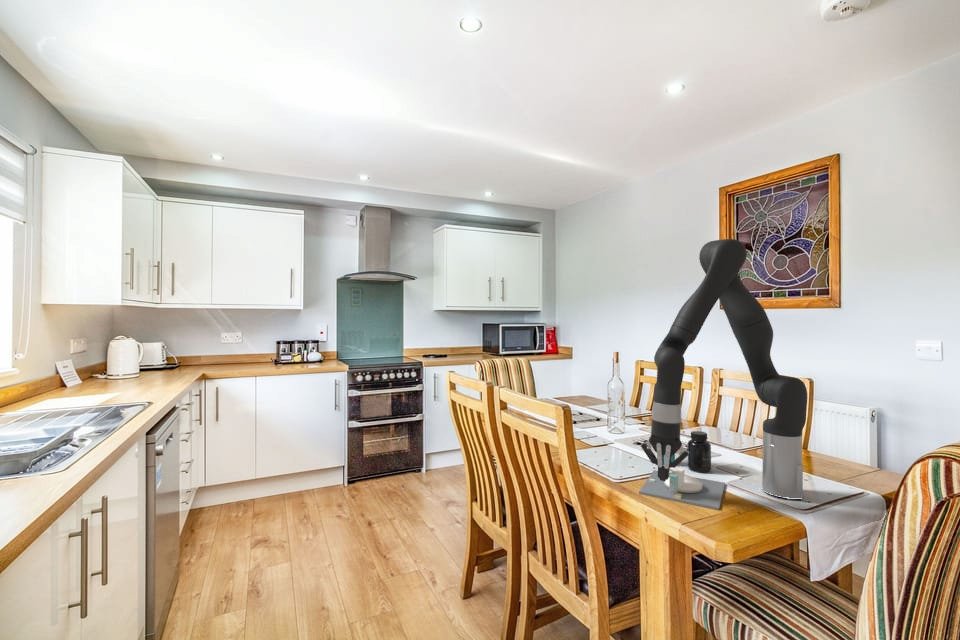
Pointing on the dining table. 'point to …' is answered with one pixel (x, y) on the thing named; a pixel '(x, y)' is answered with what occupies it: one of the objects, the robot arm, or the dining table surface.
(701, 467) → the supplement bottle
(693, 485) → the dial
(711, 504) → the dial board
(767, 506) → the dining table surface
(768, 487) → the robot arm
